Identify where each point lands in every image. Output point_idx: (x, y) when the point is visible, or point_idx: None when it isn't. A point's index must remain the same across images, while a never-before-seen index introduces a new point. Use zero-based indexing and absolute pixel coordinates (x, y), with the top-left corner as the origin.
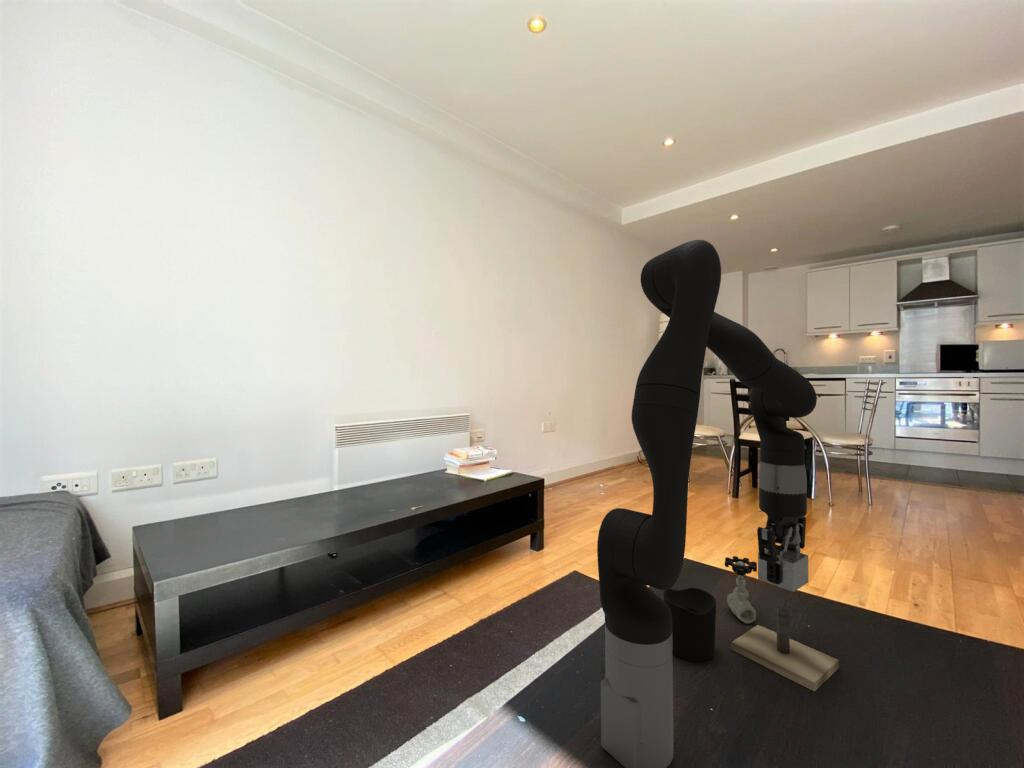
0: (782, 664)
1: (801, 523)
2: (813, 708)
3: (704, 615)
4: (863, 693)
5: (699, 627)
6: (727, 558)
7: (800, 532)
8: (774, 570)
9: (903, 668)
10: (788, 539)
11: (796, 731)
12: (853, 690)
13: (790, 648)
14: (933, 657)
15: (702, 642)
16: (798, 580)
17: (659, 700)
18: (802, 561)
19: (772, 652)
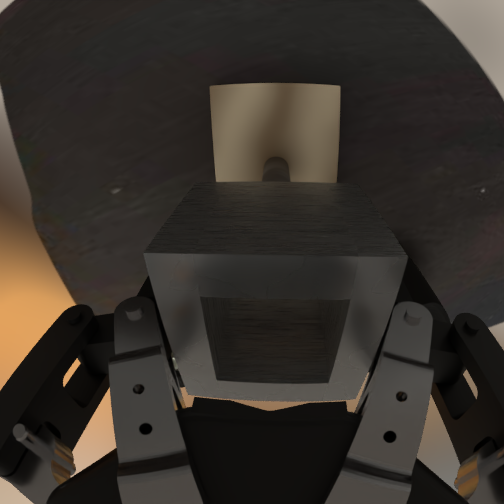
0: (330, 149)
1: (15, 441)
2: (384, 76)
3: (435, 300)
4: (260, 30)
5: (430, 288)
6: (182, 384)
7: (47, 393)
8: (405, 293)
9: (112, 35)
10: (367, 441)
11: (452, 86)
12: (267, 43)
13: (254, 162)
14: (48, 42)
15: (414, 268)
16: (310, 196)
17: None
18: (250, 241)
19: (302, 179)
